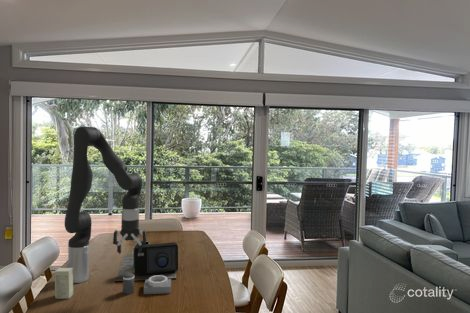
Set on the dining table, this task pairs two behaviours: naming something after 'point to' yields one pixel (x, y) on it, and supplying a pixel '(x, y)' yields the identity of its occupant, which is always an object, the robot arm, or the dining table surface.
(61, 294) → the skincare box
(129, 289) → the lens
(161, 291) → the mount block
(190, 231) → the dining table surface
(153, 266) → the camera
